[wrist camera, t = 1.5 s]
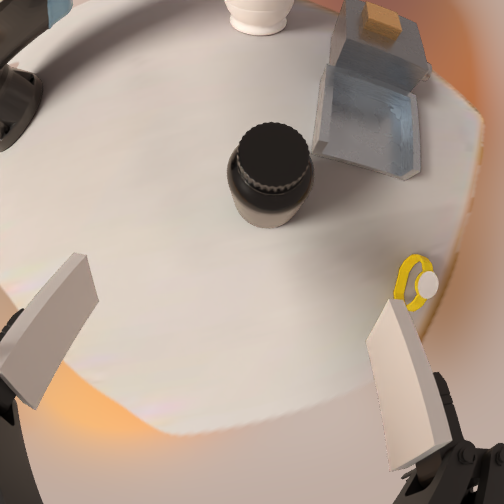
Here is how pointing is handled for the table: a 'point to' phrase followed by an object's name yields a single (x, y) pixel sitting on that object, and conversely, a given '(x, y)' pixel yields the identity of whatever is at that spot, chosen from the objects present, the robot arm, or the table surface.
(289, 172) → the supplement bottle
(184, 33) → the table surface
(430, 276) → the watch
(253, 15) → the jar
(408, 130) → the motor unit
